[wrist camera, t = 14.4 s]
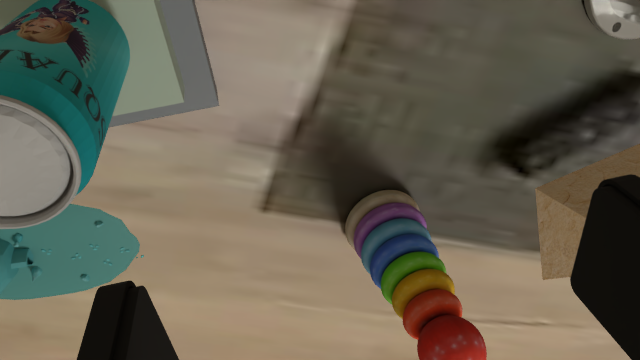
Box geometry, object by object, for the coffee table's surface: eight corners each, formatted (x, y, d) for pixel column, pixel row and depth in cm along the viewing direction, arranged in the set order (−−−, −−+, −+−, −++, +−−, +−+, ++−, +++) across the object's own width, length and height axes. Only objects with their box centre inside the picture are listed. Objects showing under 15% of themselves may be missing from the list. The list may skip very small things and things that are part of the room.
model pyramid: (660, 227, 61) (732, 282, 53) (538, 279, 61) (591, 341, 53) (674, 123, 52) (765, 170, 43) (530, 185, 52) (593, 243, 44)
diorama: (159, 287, 47) (154, 358, 40) (-69, 310, 43) (-121, 395, 36) (145, 187, 41) (135, 250, 34) (-125, 202, 37) (-202, 279, 29)
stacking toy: (327, 231, 48) (390, 398, 33) (376, 173, 45) (469, 324, 30) (382, 257, 52) (462, 416, 37) (430, 204, 49) (537, 353, 34)
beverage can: (126, -10, 27) (72, 85, 15) (138, 85, 30) (101, 230, 18) (14, -15, 26) (-149, 85, 13) (38, 85, 29) (-77, 242, 16)
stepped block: (165, -115, 30) (160, -113, 25) (217, 90, 37) (220, 123, 33) (-73, -83, 28) (-129, -74, 23) (34, 125, 36) (9, 165, 31)
